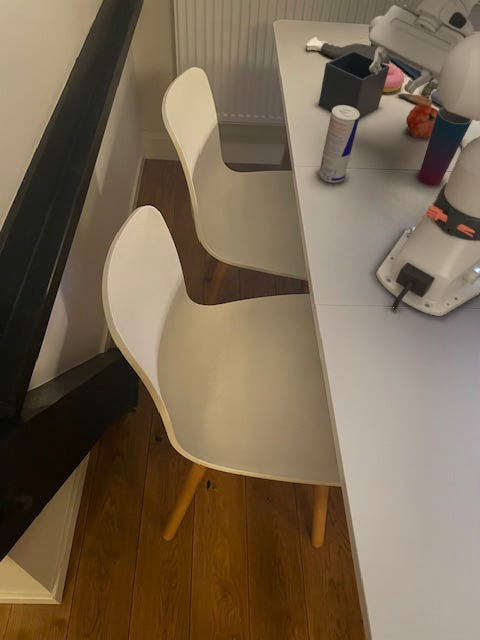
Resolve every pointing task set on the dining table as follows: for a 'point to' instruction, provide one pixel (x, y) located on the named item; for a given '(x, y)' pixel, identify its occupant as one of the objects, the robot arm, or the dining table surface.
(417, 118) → the orange-red stemmed round figurine
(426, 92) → the knife
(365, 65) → the trash bin
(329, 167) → the beverage can
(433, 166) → the cup
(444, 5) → the robot arm
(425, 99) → the stone
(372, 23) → the light bulb
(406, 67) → the smartphone
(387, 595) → the dining table surface
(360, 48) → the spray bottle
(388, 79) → the doughnut
